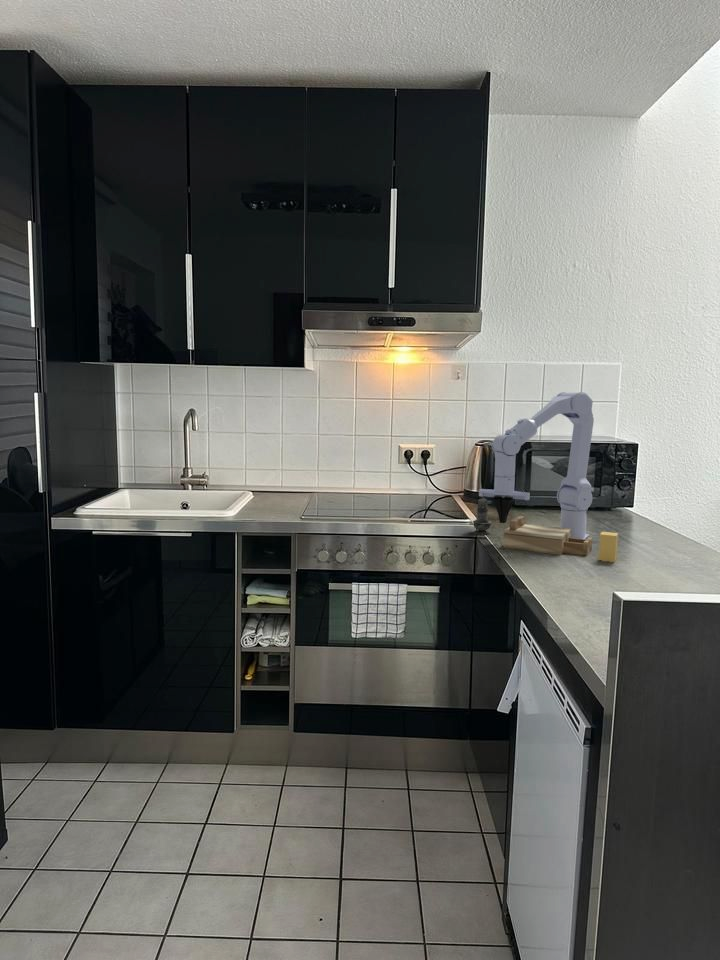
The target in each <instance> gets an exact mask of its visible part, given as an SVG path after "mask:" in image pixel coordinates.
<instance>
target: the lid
mask: <svg viewBox="0 0 720 960" xmlns="http://www.w3.org/2000/svg"><path fill="white" fill-rule="evenodd" d="M525 522H526V516H522V515H519V516H517V517H515V518H513V519H511V520H509V527H507V528H506V529H504V530H503V534H504V533H506V534H515V535H524V536H533V537H543V538H552V539H561V540H562V539H563V538H564V537H566V536H567V535H568V534H569V533H570V532H572V529H569V528H560V527H558V526H547V525H538V524H537V525H536V524H529V523H525Z"/></svg>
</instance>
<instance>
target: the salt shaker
mask: <svg viewBox="0 0 720 960" xmlns="http://www.w3.org/2000/svg"><path fill="white" fill-rule="evenodd" d="M476 511H477V516H476V519H475V520H472V523H473V527H474V529H475V530H474V531H473V534H475V535H480V536H481V535H482V536H487V535H490V534H491V531H488V530H489V529H490V527H491V525H492V521H491V520H489V519H488V511H489V509H488V499H487V498H485V496H481V498H479V499H477V509H476Z"/></svg>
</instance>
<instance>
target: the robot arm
mask: <svg viewBox="0 0 720 960" xmlns="http://www.w3.org/2000/svg"><path fill="white" fill-rule="evenodd" d="M593 401H594V400H593V399H592V398H591V396H590V395H588V393H586V392H585V391H584V392H583V391H579V392H565V391H562V392H559V393H558V394H557V395H556V396H553V397H552V398H551V400H550V401H549V402H547V403H546V405H544V406H543V407H542V408H541V409H540V410H539V411H537V412H536V413H535V414H534V415H533V416H532V417H530V418H522V419H521V418H520V419H518V420H517V423H516V424H515V425H514V426H512V427H511V428H509V429H508V428H507V429H506V430H505V433H504V434H498V435H497V436H495V438H494V440H493V442H492V443H491V449H492V451H493V453H494V459H495V460H494V482H493V486H494V487H493V489H488V488H487V489H486V488H480V489H479V490H478V496H479V497H482V496H484V497H486V498H487V497H489V498H490V497H491V498H492V502H493V505H494V507H495V509H496V512H497V516H498V520H499V521H498V522H499V523H500V524H505V523H507V520H508V516H509V513H510V510H511V508H512V506H513V504H514V502H515V500H524V501H530V497H531V496H530V495H531V494H530V492H526V491H525V492H524V491H518V490H515V485H516V484H515V480H516V479H515V478H516V476H515V475H516V456H517V455H516V454H519V451H520V450H521V448H522V447H521V446H523V445H524V444H525V443H526V442H528V441H529V440H530V439H531V438H533V437H534V436H535V435H537V432H538V428H539V427H541V426H543V425H544V424H545V423H547V422H548V421H550V420H552V419H553V418H554V417H556V416H557V415H560V414H561V416H564V417H566V419H568V420H569V422H571V423H572V425H573V427H572V428H573V429H572V435H571V444H570V453H569V459H568V467H567V472H566V473H567V475H566V476H565V478H563V479H562V480H561V482H560V486H559V488H558V490H557V493H556V500H557V502H558V503H559V504H560V508H561V509H560V510H561V511H560V525H559V526H560V527H559V528H569V529H572V534H571V538H579V539H587V538H588V537H590V534H589V533H586V532H587V519H588V515H587V511H588V509H589V508H590V507H591V505H592V503H593V494H592V484H591V483H590V482H589V480H588V479H587V474H588V473H587V472H588V465H589V458H590V451H591V444H592V443H591V442H592V436H593V427H594V422H595V421H594V415H593V414H594V413H593V410H592V409H593Z"/></svg>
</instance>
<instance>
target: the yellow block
mask: <svg viewBox="0 0 720 960" xmlns="http://www.w3.org/2000/svg"><path fill="white" fill-rule="evenodd" d="M618 543H619V533H618V532H608V531H602V532H600V534H599V544H598V545H599V546H598V561H599V560H602V561H601V562H607V561H609V563H615V562H616V561H617V559H618V547H619V546H618Z"/></svg>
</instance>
